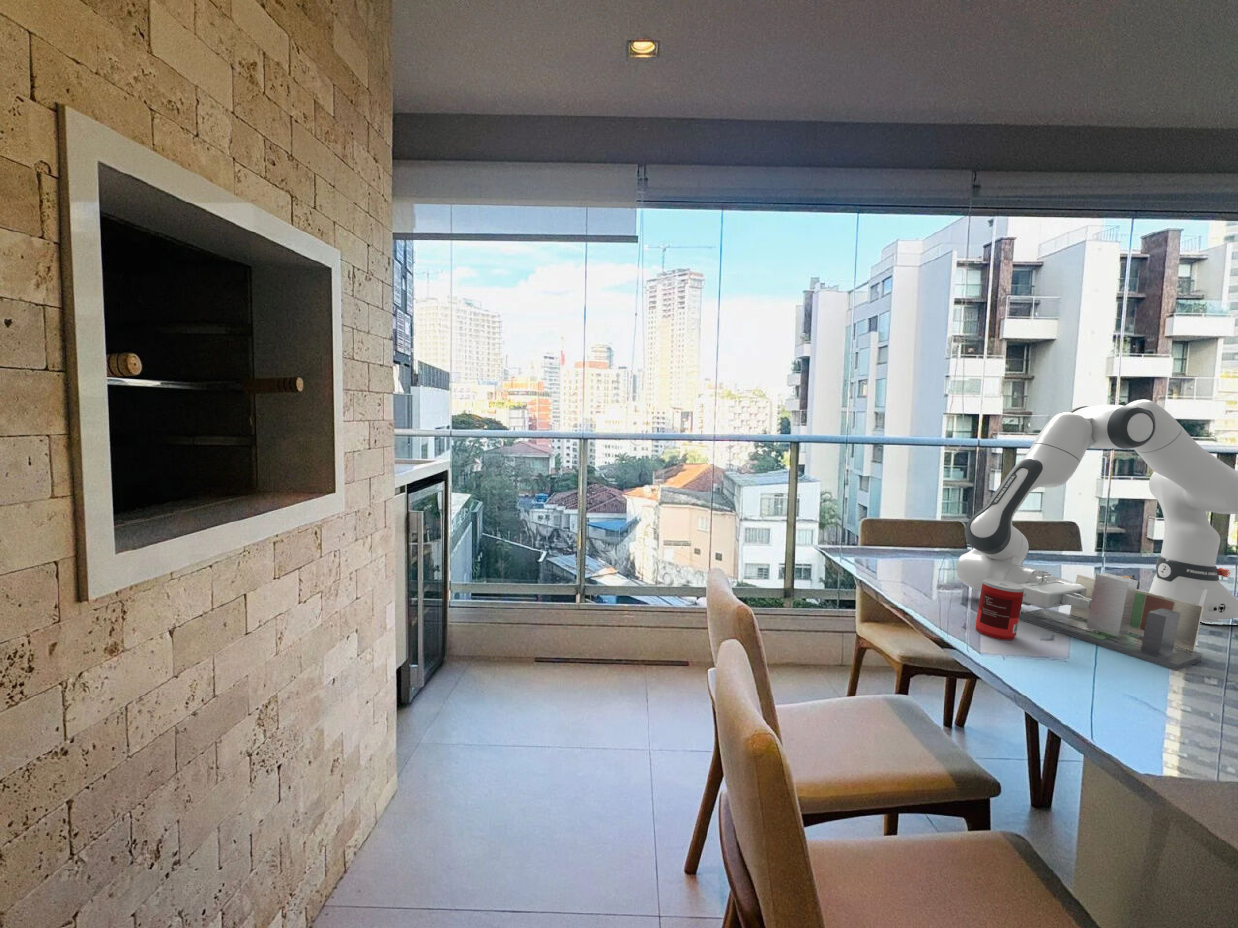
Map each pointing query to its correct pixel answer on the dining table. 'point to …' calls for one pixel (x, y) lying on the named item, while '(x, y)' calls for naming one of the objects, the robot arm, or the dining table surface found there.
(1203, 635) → the dining table surface
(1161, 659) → the base
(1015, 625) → the canned food
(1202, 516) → the robot arm
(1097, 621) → the brushed steel slab
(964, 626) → the dining table surface
